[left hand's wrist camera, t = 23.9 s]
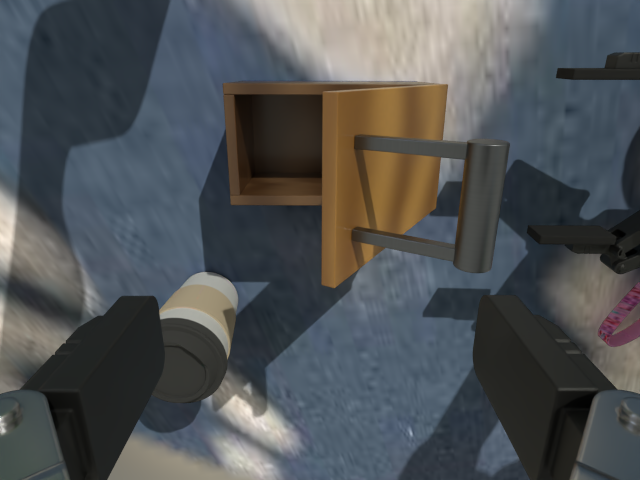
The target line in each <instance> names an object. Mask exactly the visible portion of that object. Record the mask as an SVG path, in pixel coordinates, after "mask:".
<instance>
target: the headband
mask: <svg viewBox="0 0 640 480" xmlns="http://www.w3.org/2000/svg"><path fill="white" fill-rule="evenodd" d="M639 302H640V282H639V283H638V284H637V285H636V286H635V287H634V288H633V289H632V290H631V291H630V292H629V293H628V294H627V295H626V296H625V297H624V298H623V299H622V300H621V302H620V303H619V304H618V305H617V306H616V307H615V308H614V310H613V311H612V312H611V313H610V314H609V315H608V317H607V318H606V319H605V321H604V322H603V323H602V325H601V327H600V328H599V331H598V336H599V337H600V338H601V339H602V340H604V341H605V342H606V343H607V344H608V345H609V346H611V347H616V346H620V345H623V344H626V343H628V342H630V341H632V340H634V339H636V338H638V337H639V336H640V319H639V320H637V321H636V322H635V323H633V324H632V325H631V326H629V327H627V328H626V329H624V330H622V331H620V332H618V333H616V334H614V335H612V333H613V332H614V330H615V329H616V328H617V327H618V325H619V324H620V323H621V322H622V321H623V319H624V318H625V317H626V316H627V315H628V314H629V313H630V311H631V310H632V309H633V308H634V307H635V306H636V305H637V304H638V303H639Z"/></svg>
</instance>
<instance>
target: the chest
mask: <svg viewBox="0 0 640 480" xmlns="http://www.w3.org/2000/svg"><path fill="white" fill-rule="evenodd" d="M432 84H435V83H425V82H417V81H238V82H229V83H223V94H224V110H225V125H226V140H227V154H228V169H229V184H230V200H231V205H322V110H323V92H324V91H340V90H355V89H370V88H386V87H401V86H417V85H432Z"/></svg>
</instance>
